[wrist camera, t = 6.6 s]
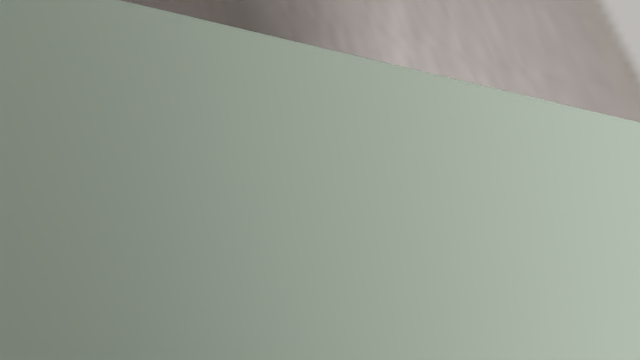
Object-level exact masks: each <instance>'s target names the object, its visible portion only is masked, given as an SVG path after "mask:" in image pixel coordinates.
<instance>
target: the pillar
mask: <svg viewBox="0 0 640 360" xmlns="http://www.w3.org/2000/svg"><path fill="white" fill-rule="evenodd" d="M0 360H640V123H639V122H635V121H631V120H627V119H622V118H618V117H614V116H610V115H605V114H601V113H597V112H593V111H588V110H584V109H580V108H576V107H571V106H567V105H563V104H559V103H555V102H550V101H546V100H542V99H538V98H533V97H529V96H525V95H521V94H516V93H512V92H508V91H504V90H499V89H495V88H491V87H487V86H482V85H478V84H474V83H470V82H465V81H461V80H457V79H453V78H448V77H444V76H440V75H436V74H431V73H427V72H423V71H419V70H414V69H410V68H406V67H402V66H397V65H393V64H389V63H385V62H380V61H376V60H372V59H368V58H364V57H359V56H355V55H351V54H347V53H342V52H338V51H334V50H330V49H325V48H321V47H317V46H313V45H308V44H304V43H300V42H296V41H291V40H287V39H283V38H279V37H274V36H270V35H266V34H262V33H257V32H253V31H249V30H245V29H240V28H236V27H232V26H228V25H223V24H219V23H215V22H211V21H206V20H202V19H198V18H194V17H189V16H185V15H181V14H177V13H173V12H168V11H164V10H160V9H156V8H151V7H147V6H143V5H139V4H134V3H130V2H126V1H122V0H0Z"/></svg>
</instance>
